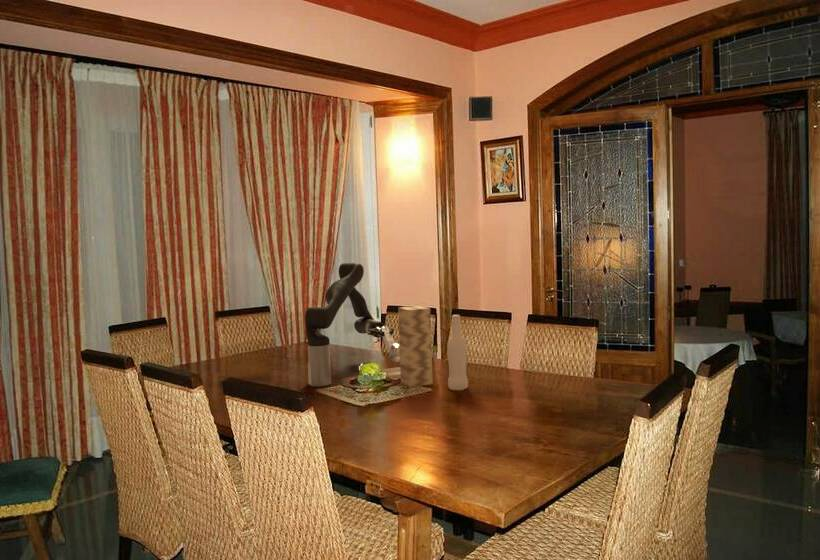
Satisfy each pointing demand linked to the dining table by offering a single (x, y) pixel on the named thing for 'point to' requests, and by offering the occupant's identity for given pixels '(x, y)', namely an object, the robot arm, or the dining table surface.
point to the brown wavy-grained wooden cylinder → (415, 345)
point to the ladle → (391, 345)
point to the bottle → (457, 357)
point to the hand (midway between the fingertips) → (387, 333)
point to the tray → (393, 372)
